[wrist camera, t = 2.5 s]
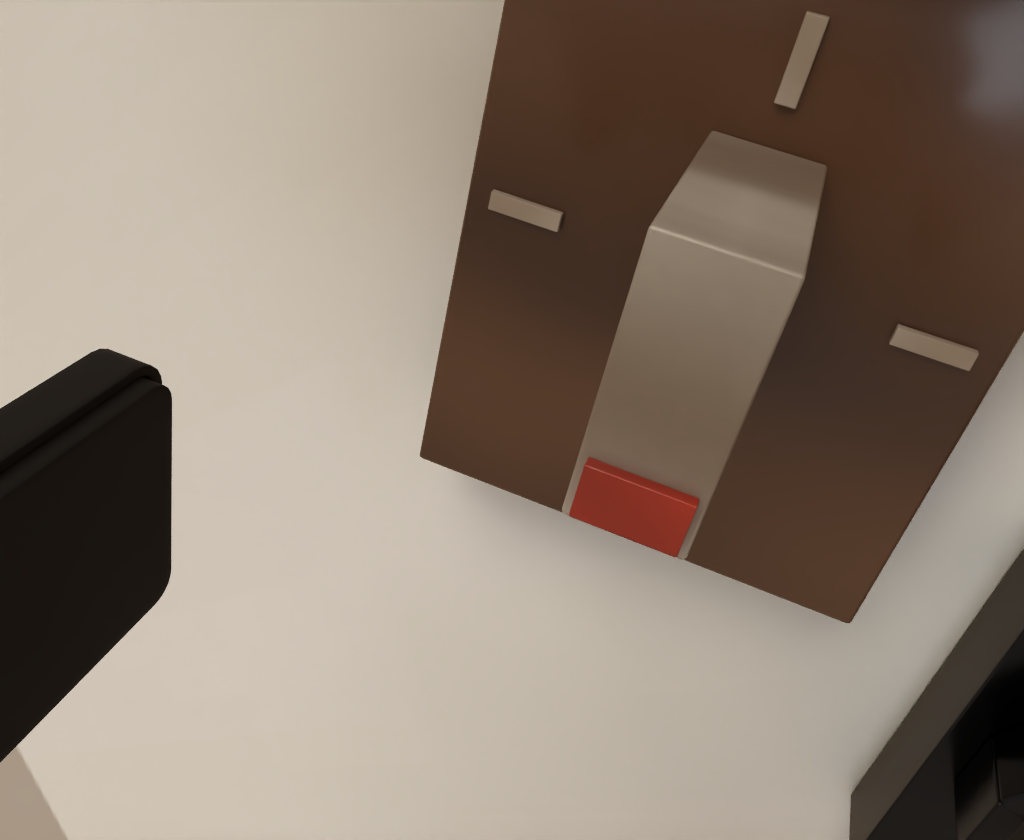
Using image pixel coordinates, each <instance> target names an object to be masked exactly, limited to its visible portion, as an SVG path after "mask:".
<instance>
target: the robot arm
mask: <svg viewBox="0 0 1024 840" xmlns="http://www.w3.org/2000/svg"><path fill="white" fill-rule="evenodd" d="M171 471H172V397H171V392H170V390H169V388H167V387H166V386H164V385H162V380H161V375H160V373H159V372H158V370H157V369H156V368H154V367H153V366H151V365H148V364H146V363H143V362H140V361H138V360H135V359H133V358H130V357H127V356H125V355H122V354H120V353H117V352H114V351H112V350H109V349H98V350H96V351H94V352H91V353H90V354H88V355H86V356H85V357H83V358H81V359H80V360H78V361H77V362H75V363H73V364H72V365H70V366H69V367H67V368H65V369H64V370H62V371H60V372H59V373H57V374H56V375H54V376H52V377H51V378H49V379H47V380H46V381H44V382H43V383H41V384H39V385H38V386H36V387H35V388H33V389H31V390H30V391H28V392H26V393H25V394H23V395H22V396H20V397H18V398H17V399H15V400H14V401H12V402H10V403H9V404H7V405H5V406H4V407H2V408H1V409H0V762H1V761H2V760H3V759H4V758H5V757H6V756H7V755H8V754H9V753H10V752H11V751H12V750H13V749H14V748H15V747H16V746H17V745H18V744H19V743H20V742H21V741H22V740H23V739H24V738H25V737H26V736H27V735H28V734H29V733H30V732H31V731H32V729H33V728H34V727H35V726H36V725H37V724H38V723H39V722H40V721H41V720H42V719H43V718H44V717H45V716H46V715H47V714H48V713H49V712H50V711H51V710H52V709H53V708H54V707H55V706H56V705H57V704H58V703H59V702H60V701H61V700H62V699H63V698H64V697H65V696H66V695H67V694H68V693H69V692H70V691H71V690H72V689H73V688H74V687H75V686H76V685H77V684H78V683H79V681H80V680H81V679H82V678H83V677H84V676H85V675H86V674H87V673H88V672H89V671H90V670H91V669H92V668H93V667H94V666H95V665H96V664H97V663H98V662H99V661H100V660H101V659H102V658H103V657H104V656H105V655H106V654H107V653H108V652H109V651H110V650H111V649H112V648H113V647H114V646H115V645H116V644H117V643H118V642H119V641H120V640H121V639H122V638H123V637H124V636H125V635H126V633H127V632H128V631H129V630H130V629H131V628H132V627H133V626H134V625H135V624H136V623H137V622H138V621H139V620H140V619H141V618H142V617H143V616H144V615H145V614H146V613H147V612H148V611H149V610H150V609H151V608H152V607H153V606H154V605H155V604H156V603H157V601H158V600H159V599H160V597H161V596H162V594H163V593H164V591H165V589H166V587H167V584H168V582H169V578H170V574H171ZM1007 840H1024V821H1023V822H1022V823H1021V825H1020V826H1019V827H1018V828H1017V829H1016V830H1015V831H1014V832H1013V834H1012V835H1011V836H1010V837H1009V838H1008V839H1007Z"/></svg>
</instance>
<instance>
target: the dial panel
mask: <svg viewBox="0 0 1024 840" xmlns="http://www.w3.org/2000/svg"><path fill="white" fill-rule="evenodd" d="M711 131H717V132H720V133H723V134H726V135H730V136H733V137H736V138H739V139H743V140H746V141H749V142H752V143H755V144H759V145H762V146H765V147H768V148H772V149H775V150H778V151H781V152H785V153H788V154H791V155H794V156H797V157H801V158H804V159H807V160H810V161H814V162H817V163H820V164H823V165H826V166H827V174H826V179H825V184H824V189H823V193H822V198H821V203H820V208H819V213H818V218H817V223H816V228H815V233H814V237H813V242H812V247H811V252H810V257H809V262H808V267H807V272H806V277H805V280H804V283H803V285H802V287H801V290H800V292H799V294H798V297H797V299H796V302H795V304H794V306H793V309H792V311H791V313H790V316H789V318H788V320H787V323H786V325H785V327H784V330H783V332H782V334H781V337H780V339H779V342H778V344H777V346H776V349H775V351H774V353H773V356H772V358H771V360H770V363H769V365H768V367H767V370H766V372H765V375H764V377H763V379H762V382H761V384H760V386H759V389H758V391H757V393H756V396H755V398H754V400H753V403H752V405H751V407H750V410H749V412H748V415H747V417H746V419H745V422H744V424H743V426H742V429H741V431H740V433H739V436H738V438H737V440H736V443H735V445H734V447H733V450H732V452H731V455H730V457H729V459H728V462H727V464H726V466H725V469H724V471H723V473H722V476H721V478H720V480H719V483H718V485H717V487H716V490H715V492H714V495H713V497H712V499H711V502H710V504H709V506H708V509H707V511H706V513H705V516H704V518H703V520H702V523H701V525H700V527H699V530H698V532H697V535H696V537H695V539H694V542H693V544H692V546H691V549H690V551H689V553H688V556H687V558H685V559H684V560H686V561H688V562H691V563H693V564H696V565H699V566H701V567H704V568H706V569H709V570H711V571H714V572H717V573H719V574H722V575H724V576H727V577H729V578H732V579H735V580H737V581H740V582H742V583H745V584H747V585H750V586H752V587H755V588H758V589H760V590H763V591H765V592H768V593H770V594H773V595H776V596H778V597H781V598H783V599H786V600H788V601H791V602H794V603H796V604H799V605H801V606H804V607H806V608H809V609H812V610H814V611H817V612H819V613H822V614H824V615H827V616H830V617H832V618H835V619H837V620H840V621H842V622H845V623H850V622H851V621H852V620H853V618H854V616H855V614H856V613H857V611H858V609H859V608H860V606H861V604H862V603H863V601H864V599H865V598H866V596H867V594H868V593H869V591H870V589H871V588H872V586H873V584H874V582H875V581H876V579H877V577H878V576H879V574H880V572H881V571H882V569H883V567H884V566H885V564H886V562H887V561H888V559H889V557H890V556H891V554H892V552H893V550H894V549H895V547H896V545H897V544H898V542H899V540H900V539H901V537H902V535H903V534H904V532H905V530H906V529H907V527H908V525H909V523H910V522H911V520H912V518H913V517H914V515H915V513H916V512H917V510H918V508H919V507H920V505H921V503H922V502H923V500H924V498H925V497H926V495H927V493H928V491H929V490H930V488H931V486H932V485H933V483H934V481H935V480H936V478H937V476H938V475H939V473H940V471H941V470H942V468H943V466H944V465H945V463H946V461H947V459H948V458H949V456H950V454H951V453H952V451H953V449H954V448H955V446H956V444H957V443H958V441H959V439H960V438H961V436H962V434H963V432H964V431H965V429H966V427H967V426H968V424H969V422H970V421H971V419H972V417H973V416H974V414H975V412H976V411H977V409H978V407H979V406H980V404H981V402H982V400H983V399H984V397H985V395H986V394H987V392H988V390H989V389H990V387H991V385H992V384H993V382H994V380H995V379H996V377H997V375H998V374H999V372H1000V370H1001V368H1002V367H1003V365H1004V363H1005V362H1006V360H1007V358H1008V357H1009V355H1010V353H1011V352H1012V350H1013V348H1014V347H1015V345H1016V343H1017V341H1018V340H1019V338H1020V336H1021V335H1022V333H1023V331H1024V0H505V2H504V7H503V12H502V18H501V23H500V28H499V34H498V39H497V44H496V50H495V55H494V61H493V66H492V71H491V77H490V82H489V87H488V93H487V98H486V103H485V109H484V114H483V119H482V125H481V130H480V135H479V141H478V146H477V151H476V157H475V162H474V168H473V173H472V178H471V184H470V189H469V194H468V200H467V205H466V210H465V216H464V221H463V226H462V232H461V237H460V242H459V248H458V253H457V259H456V264H455V269H454V275H453V280H452V285H451V291H450V296H449V301H448V307H447V312H446V317H445V323H444V328H443V333H442V339H441V344H440V349H439V355H438V360H437V366H436V371H435V376H434V382H433V387H432V392H431V398H430V403H429V408H428V414H427V419H426V424H425V430H424V435H423V440H422V446H421V451H420V457H422V458H424V459H426V460H429V461H431V462H434V463H437V464H439V465H442V466H444V467H447V468H449V469H452V470H454V471H457V472H460V473H462V474H465V475H467V476H470V477H472V478H475V479H478V480H480V481H483V482H485V483H488V484H490V485H493V486H496V487H498V488H501V489H503V490H506V491H508V492H511V493H514V494H516V495H519V496H521V497H524V498H526V499H529V500H532V501H534V502H537V503H539V504H542V505H544V506H547V507H550V508H552V509H555V510H557V511H560V512H562V507H563V504H564V500H565V497H566V494H567V491H568V487H569V484H570V481H571V478H572V474H573V471H574V468H575V465H576V461H577V458H578V455H579V452H580V448H581V445H582V442H583V439H584V436H585V432H586V429H587V426H588V423H589V419H590V416H591V413H592V410H593V406H594V403H595V400H596V397H597V393H598V390H599V387H600V384H601V380H602V377H603V374H604V371H605V367H606V364H607V361H608V358H609V354H610V351H611V348H612V345H613V342H614V338H615V335H616V332H617V329H618V325H619V322H620V319H621V316H622V312H623V309H624V306H625V303H626V299H627V296H628V293H629V290H630V286H631V283H632V280H633V277H634V273H635V270H636V267H637V264H638V260H639V257H640V254H641V251H642V248H643V244H644V241H645V238H646V235H647V231H648V228H649V226H650V225H651V223H652V222H653V220H654V219H655V217H656V216H657V214H658V212H659V211H660V209H661V208H662V206H663V205H664V203H665V202H666V200H667V199H668V197H669V196H670V194H671V192H672V191H673V189H674V188H675V186H676V185H677V183H678V182H679V180H680V179H681V177H682V175H683V174H684V172H685V171H686V169H687V168H688V166H689V165H690V163H691V162H692V160H693V159H694V157H695V155H696V154H697V152H698V151H699V149H700V148H701V146H702V145H703V143H704V142H705V140H706V139H707V137H708V135H709V134H710V133H711ZM562 513H563V512H562Z"/></svg>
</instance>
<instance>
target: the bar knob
mask: <svg viewBox="0 0 1024 840" xmlns="http://www.w3.org/2000/svg"><path fill="white" fill-rule="evenodd" d="M826 174H827V166H826V165H823V164H820V163H817V162H814V161H810V160H807V159H804V158H801V157H797V156H794V155H791V154H788V153H785V152H781V151H778V150H775V149H772V148H768V147H765V146H762V145H759V144H755V143H752V142H749V141H746V140H743V139H739V138H736V137H733V136H730V135H726V134H723V133H720V132H717V131H711V133H710V134H709V135H708V137H707V139H706V140H705V142H704V143H703V145H702V146H701V148H700V149H699V151H698V152H697V154H696V155H695V157H694V159H693V160H692V162H691V163H690V165H689V166H688V168H687V169H686V171H685V172H684V174H683V175H682V177H681V179H680V180H679V182H678V183H677V185H676V186H675V188H674V189H673V191H672V192H671V194H670V196H669V197H668V199H667V200H666V202H665V203H664V205H663V206H662V208H661V209H660V211H659V212H658V214H657V216H656V217H655V219H654V220H653V222H652V223H651V225H650V226H649V228H648V231H647V235H646V238H645V241H644V244H643V248H642V251H641V254H640V257H639V260H638V264H637V267H636V270H635V273H634V277H633V280H632V283H631V286H630V290H629V293H628V296H627V299H626V303H625V306H624V309H623V312H622V316H621V319H620V322H619V325H618V329H617V332H616V335H615V338H614V342H613V345H612V348H611V351H610V354H609V358H608V361H607V364H606V367H605V371H604V374H603V377H602V380H601V384H600V387H599V390H598V393H597V397H596V400H595V403H594V406H593V410H592V413H591V416H590V419H589V423H588V426H587V429H586V432H585V436H584V439H583V442H582V445H581V448H580V452H579V455H578V458H577V461H576V465H575V468H574V471H573V474H572V478H571V481H570V484H569V487H568V491H567V494H566V497H565V500H564V504H563V507H562V512H563V513H564V514H566V515H569V516H570V517H573V518H575V519H578V520H580V521H583V522H586V523H588V524H591V525H593V526H596V527H598V528H601V529H604V530H606V531H609V532H611V533H614V534H616V535H619V536H621V537H624V538H627V539H629V540H632V541H634V542H637V543H639V544H642V545H645V546H647V547H650V548H652V549H655V550H657V551H660V552H663V553H665V554H668V555H670V556H673V557H677V558H679V559H683V560H684V559H685V558H687V556H688V553H689V551H690V549H691V546H692V544H693V542H694V539H695V537H696V535H697V532H698V530H699V527H700V525H701V523H702V520H703V518H704V516H705V513H706V511H707V509H708V506H709V504H710V502H711V499H712V497H713V495H714V492H715V490H716V487H717V485H718V483H719V480H720V478H721V476H722V473H723V471H724V469H725V466H726V464H727V462H728V459H729V457H730V455H731V452H732V450H733V447H734V445H735V443H736V440H737V438H738V436H739V433H740V431H741V429H742V426H743V424H744V422H745V419H746V417H747V415H748V412H749V410H750V407H751V405H752V403H753V400H754V398H755V396H756V393H757V391H758V389H759V386H760V384H761V382H762V379H763V377H764V375H765V372H766V370H767V367H768V365H769V363H770V360H771V358H772V356H773V353H774V351H775V349H776V346H777V344H778V342H779V339H780V337H781V334H782V332H783V330H784V327H785V325H786V323H787V320H788V318H789V316H790V313H791V311H792V309H793V306H794V304H795V302H796V299H797V297H798V294H799V292H800V290H801V287H802V285H803V283H804V280H805V277H806V272H807V267H808V262H809V257H810V252H811V247H812V242H813V237H814V233H815V228H816V223H817V218H818V213H819V208H820V203H821V198H822V193H823V189H824V184H825V179H826Z"/></svg>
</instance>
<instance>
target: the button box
mask: <svg viewBox="0 0 1024 840" xmlns="http://www.w3.org/2000/svg"><path fill="white" fill-rule="evenodd" d="M1023 821H1024V549H1023V551H1022V552H1021V554H1020V555H1019V556H1018V558H1017V559H1016V561H1015V562H1014V564H1013V565H1012V566H1011V568H1010V569H1009V571H1008V572H1007V574H1006V575H1005V576H1004V578H1003V579H1002V581H1001V582H1000V584H999V585H998V586H997V588H996V589H995V591H994V592H993V594H992V595H991V596H990V598H989V599H988V601H987V602H986V604H985V605H984V606H983V608H982V609H981V611H980V612H979V614H978V615H977V616H976V618H975V619H974V621H973V622H972V624H971V625H970V626H969V628H968V629H967V631H966V632H965V634H964V635H963V636H962V638H961V639H960V641H959V642H958V644H957V645H956V646H955V648H954V649H953V651H952V652H951V654H950V655H949V656H948V658H947V659H946V661H945V662H944V664H943V665H942V666H941V668H940V669H939V671H938V672H937V674H936V675H935V676H934V678H933V679H932V681H931V682H930V684H929V685H928V686H927V688H926V689H925V691H924V692H923V694H922V695H921V696H920V698H919V699H918V701H917V702H916V704H915V705H914V706H913V708H912V709H911V711H910V712H909V714H908V715H907V716H906V718H905V719H904V721H903V722H902V724H901V725H900V726H899V728H898V729H897V731H896V732H895V734H894V735H893V736H892V738H891V739H890V741H889V742H888V744H887V745H886V746H885V748H884V749H883V751H882V752H881V754H880V755H879V756H878V758H877V759H876V761H875V762H874V764H873V765H872V766H871V768H870V769H869V771H868V772H867V774H866V775H865V776H864V778H863V779H862V781H861V782H860V784H859V785H858V786H857V788H856V789H855V791H854V792H853V794H852V795H851V813H850V836H849V840H1007V839H1008V838H1009V837H1010V836H1011V835H1012V834H1013V832H1014V831H1015V830H1016V829H1017V828H1018V827H1019V826H1020V825H1021V823H1022V822H1023Z"/></svg>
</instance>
